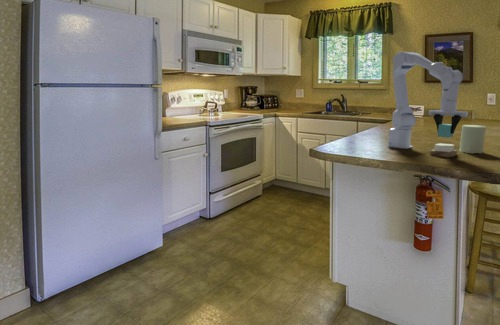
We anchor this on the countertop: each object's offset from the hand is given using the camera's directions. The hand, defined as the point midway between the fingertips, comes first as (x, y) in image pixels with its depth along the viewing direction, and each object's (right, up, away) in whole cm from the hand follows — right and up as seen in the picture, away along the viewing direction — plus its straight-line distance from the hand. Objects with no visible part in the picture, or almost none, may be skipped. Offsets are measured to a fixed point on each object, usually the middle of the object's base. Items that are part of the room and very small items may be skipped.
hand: (445, 133), depth 155 cm
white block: (0, -7, +1) cm, 8 cm away
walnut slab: (0, -10, +2) cm, 10 cm away
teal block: (0, -1, 0) cm, 1 cm away
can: (+16, -8, +10) cm, 20 cm away
